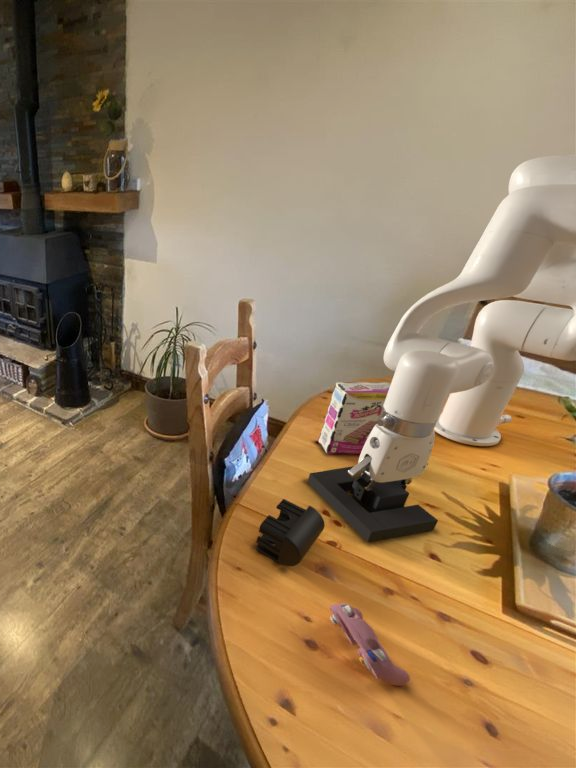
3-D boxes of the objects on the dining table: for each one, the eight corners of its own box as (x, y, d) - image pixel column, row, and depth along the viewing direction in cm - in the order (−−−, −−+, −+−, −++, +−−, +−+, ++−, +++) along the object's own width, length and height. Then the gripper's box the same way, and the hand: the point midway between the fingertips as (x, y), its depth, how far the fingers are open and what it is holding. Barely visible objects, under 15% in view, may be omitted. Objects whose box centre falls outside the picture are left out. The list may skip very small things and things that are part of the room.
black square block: (376, 488, 83) (382, 472, 82) (402, 509, 78) (409, 493, 76) (349, 492, 83) (355, 476, 81) (373, 514, 77) (380, 498, 76)
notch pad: (363, 473, 88) (366, 463, 87) (433, 530, 74) (438, 520, 73) (307, 482, 87) (309, 473, 86) (367, 542, 73) (371, 532, 72)
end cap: (295, 576, 68) (304, 547, 65) (253, 550, 73) (259, 523, 70) (319, 542, 74) (329, 514, 70) (279, 520, 78) (286, 493, 75)
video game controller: (330, 624, 62) (319, 600, 59) (359, 612, 62) (350, 587, 58) (379, 698, 54) (370, 675, 50) (415, 685, 53) (407, 661, 50)
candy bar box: (327, 455, 94) (345, 392, 86) (317, 442, 98) (334, 381, 91) (380, 456, 93) (403, 392, 85) (368, 442, 97) (389, 381, 90)
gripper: (379, 439, 68) (350, 520, 76) (471, 426, 70) (433, 505, 78) (344, 416, 74) (321, 492, 83) (430, 403, 76) (399, 479, 84)
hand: (376, 498), depth 80 cm, fingers closed on black square block, 6 cm apart
